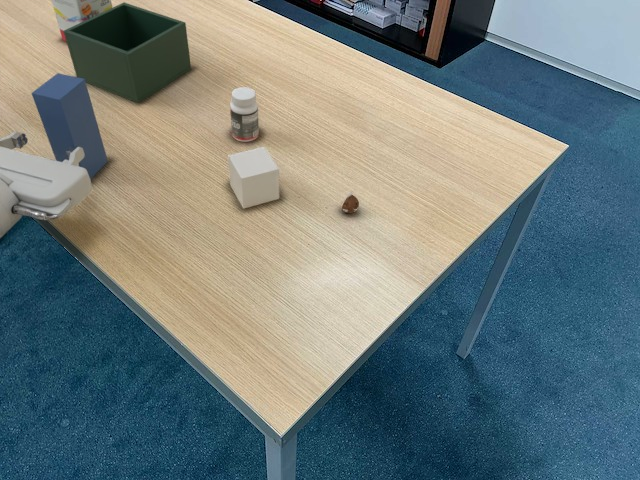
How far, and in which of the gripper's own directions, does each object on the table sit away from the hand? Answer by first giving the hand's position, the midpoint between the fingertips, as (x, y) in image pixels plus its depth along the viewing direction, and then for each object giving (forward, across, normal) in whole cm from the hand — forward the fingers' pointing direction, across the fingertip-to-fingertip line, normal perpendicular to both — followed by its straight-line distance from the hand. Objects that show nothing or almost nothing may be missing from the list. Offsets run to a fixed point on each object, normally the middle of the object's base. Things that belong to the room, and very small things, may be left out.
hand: (50, 143), depth 79 cm
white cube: (+9, -28, +8) cm, 30 cm away
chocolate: (+10, -43, +8) cm, 45 cm away
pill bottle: (+23, -20, +9) cm, 32 cm away
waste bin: (+34, +8, +8) cm, 36 cm away
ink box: (+44, +24, +9) cm, 51 cm away
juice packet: (+5, 0, +8) cm, 10 cm away
